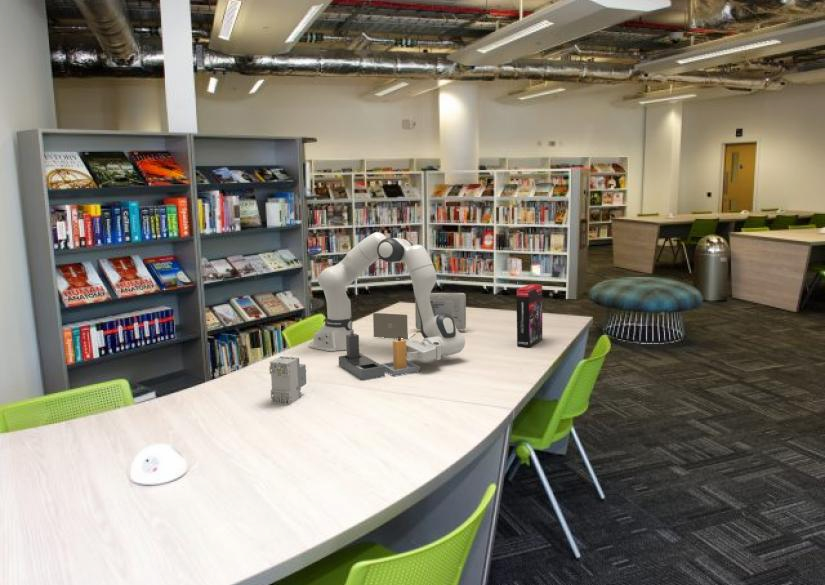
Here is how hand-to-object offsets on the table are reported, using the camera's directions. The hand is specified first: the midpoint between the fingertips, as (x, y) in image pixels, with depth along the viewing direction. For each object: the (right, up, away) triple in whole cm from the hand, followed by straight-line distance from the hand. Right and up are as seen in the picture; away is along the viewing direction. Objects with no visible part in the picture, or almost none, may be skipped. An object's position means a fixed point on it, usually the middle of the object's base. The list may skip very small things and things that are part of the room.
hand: (401, 352), depth 266 cm
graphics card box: (+60, 0, +40) cm, 72 cm away
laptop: (-4, +2, +59) cm, 59 cm away
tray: (0, -7, +1) cm, 8 cm away
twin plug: (-20, -5, +8) cm, 22 cm away
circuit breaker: (-40, -14, -30) cm, 52 cm away
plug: (0, -7, +1) cm, 7 cm away
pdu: (-17, -8, +1) cm, 18 cm away
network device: (+19, +4, +66) cm, 68 cm away
